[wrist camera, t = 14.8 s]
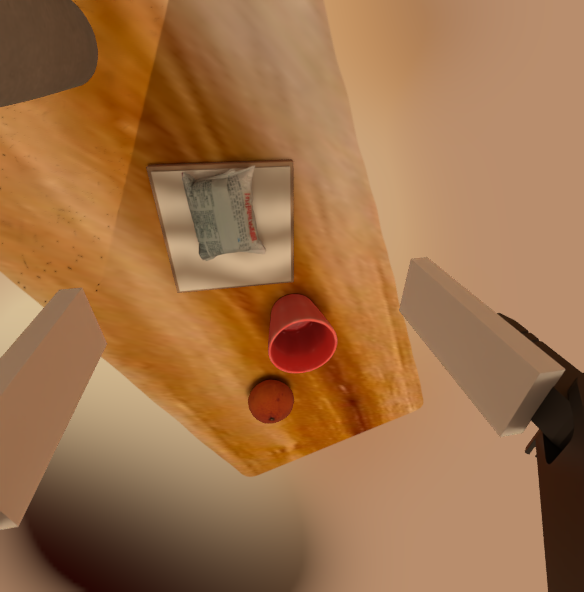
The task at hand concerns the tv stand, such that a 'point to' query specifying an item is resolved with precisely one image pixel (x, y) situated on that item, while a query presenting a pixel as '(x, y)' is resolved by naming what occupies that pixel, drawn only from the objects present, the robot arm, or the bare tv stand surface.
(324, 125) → the tv stand surface
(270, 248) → the stand
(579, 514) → the robot arm
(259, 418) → the fruit
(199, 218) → the packaged food
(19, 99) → the vase
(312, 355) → the flower pot
